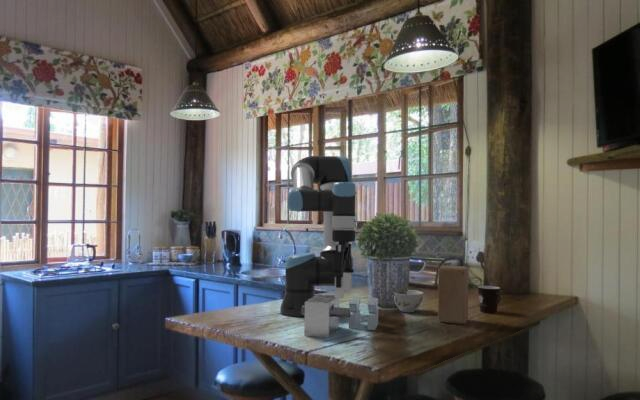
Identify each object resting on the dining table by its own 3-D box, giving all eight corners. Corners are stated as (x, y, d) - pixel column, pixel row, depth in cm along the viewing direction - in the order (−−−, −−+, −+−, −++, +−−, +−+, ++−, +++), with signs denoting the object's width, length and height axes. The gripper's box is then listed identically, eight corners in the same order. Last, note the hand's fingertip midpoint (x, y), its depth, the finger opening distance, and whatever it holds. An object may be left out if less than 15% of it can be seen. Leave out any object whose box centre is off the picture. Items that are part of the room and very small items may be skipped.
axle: (300, 314, 167) (301, 305, 168) (303, 314, 170) (304, 305, 171) (348, 317, 163) (349, 307, 164) (350, 317, 166) (350, 308, 167)
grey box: (304, 335, 163) (304, 301, 163) (316, 325, 179) (316, 294, 179) (328, 337, 161) (329, 303, 161) (338, 326, 177) (339, 295, 177)
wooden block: (466, 324, 182) (466, 268, 183) (437, 322, 186) (438, 267, 186) (468, 319, 192) (468, 266, 192) (441, 317, 195) (441, 265, 196)
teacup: (409, 315, 198) (409, 294, 198) (385, 310, 208) (385, 290, 208) (433, 310, 208) (433, 291, 208) (409, 306, 217) (409, 287, 218)
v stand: (348, 328, 174) (348, 300, 174) (353, 322, 183) (353, 296, 183) (374, 330, 172) (375, 301, 172) (378, 324, 181) (378, 297, 181)
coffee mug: (476, 309, 212) (476, 285, 213) (498, 310, 211) (498, 286, 211) (479, 314, 201) (479, 289, 201) (502, 316, 199) (502, 290, 199)
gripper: (348, 230, 153) (347, 301, 152) (361, 229, 177) (360, 290, 176) (323, 229, 155) (323, 300, 154) (340, 228, 179) (339, 289, 178)
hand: (343, 295), depth 165 cm, fingers open, 13 cm apart
